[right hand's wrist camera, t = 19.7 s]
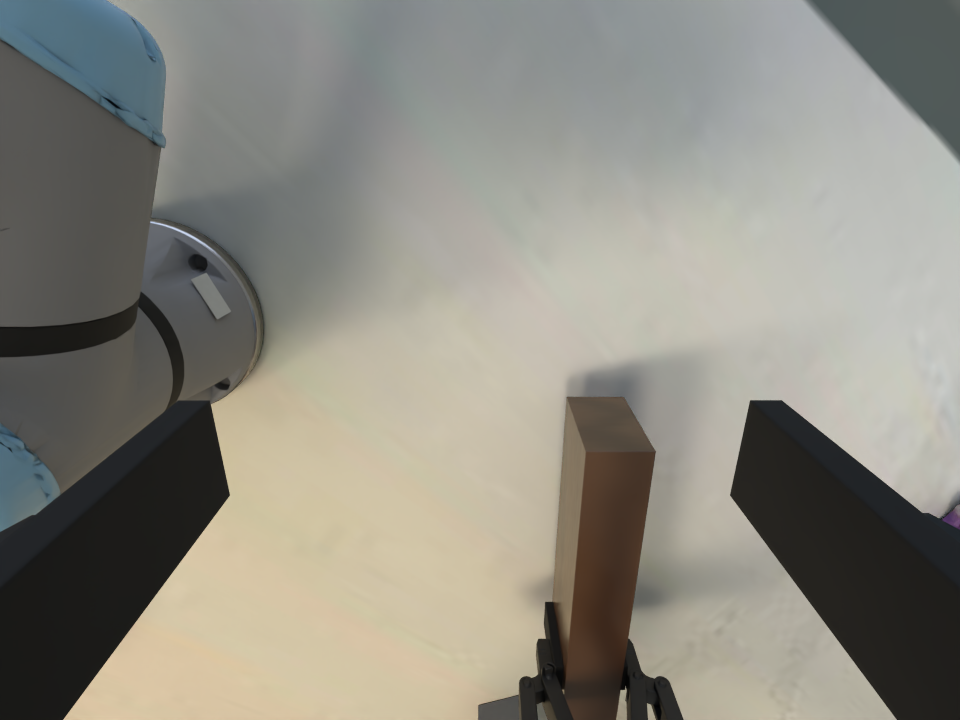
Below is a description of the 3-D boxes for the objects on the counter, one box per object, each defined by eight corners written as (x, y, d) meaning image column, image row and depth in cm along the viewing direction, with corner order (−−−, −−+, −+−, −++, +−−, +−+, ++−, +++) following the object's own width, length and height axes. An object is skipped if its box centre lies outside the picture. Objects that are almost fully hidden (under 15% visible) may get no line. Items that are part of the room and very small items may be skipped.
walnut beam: (549, 637, 50) (561, 721, 43) (566, 396, 40) (585, 451, 33) (596, 637, 50) (616, 721, 43) (623, 396, 40) (656, 451, 33)
